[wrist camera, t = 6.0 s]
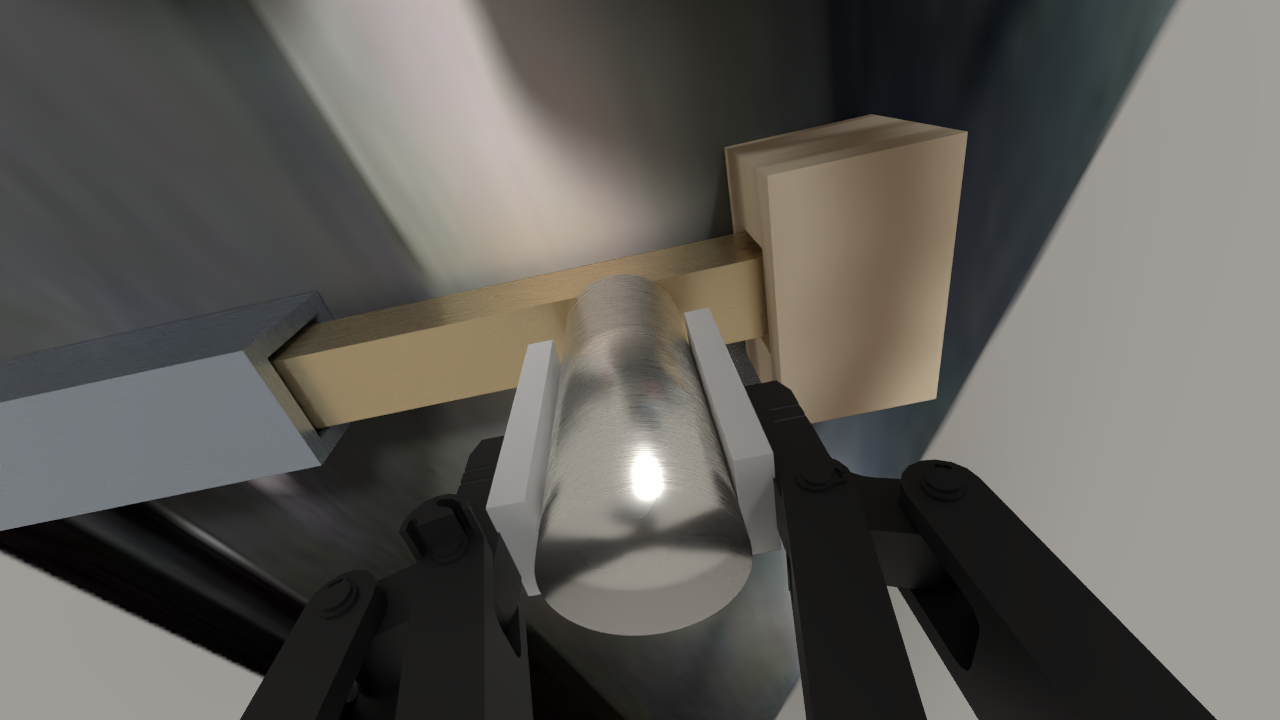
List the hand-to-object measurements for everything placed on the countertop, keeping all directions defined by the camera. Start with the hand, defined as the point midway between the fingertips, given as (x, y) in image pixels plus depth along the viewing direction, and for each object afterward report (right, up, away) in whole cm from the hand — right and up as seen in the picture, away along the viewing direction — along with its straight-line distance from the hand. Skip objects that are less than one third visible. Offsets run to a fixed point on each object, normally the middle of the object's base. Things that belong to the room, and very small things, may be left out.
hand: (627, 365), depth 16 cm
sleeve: (-19, 0, +6) cm, 20 cm away
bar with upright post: (-4, +2, +5) cm, 7 cm away
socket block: (+7, +5, +5) cm, 10 cm away
